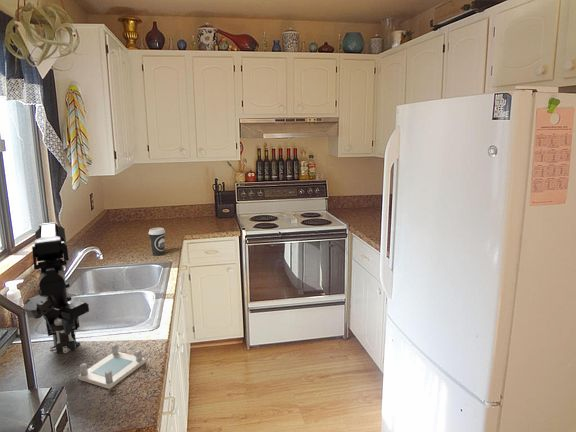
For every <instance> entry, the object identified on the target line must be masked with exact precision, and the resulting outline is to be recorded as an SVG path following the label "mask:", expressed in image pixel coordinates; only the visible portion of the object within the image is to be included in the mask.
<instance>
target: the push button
mask: <svg viewBox="0 0 576 432" xmlns="http://www.w3.org/2000/svg"><path fill="white" fill-rule="evenodd" d="M51 326H52V327H53V330H54V331H56V334H57V339H58V341H57V345H56V348H52V349H50V348H49V350H50V353H52V354H53V353H57V354H59V355H60V354H66V353H68V352H69V353H70V352H75V351H76V348H77V346H76V344H75V340H73V338H72V337H71V332H70V334H69V335H67V336H66V335H65V332H64V328H63V324H62V320H60V319H58V318H57V319H55V320H54V322H53V323H52V324H51ZM59 332H60V333H59ZM55 349H56V351H52V350H55Z"/></svg>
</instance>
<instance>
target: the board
mask: <svg viewBox="0 0 576 432" xmlns="http://www.w3.org/2000/svg"><path fill="white" fill-rule="evenodd" d="M134 353H135V355H133V354H132V355H131V354H130V353H124V352H120V351H119V345H118V343H113V344H111V353H110V354H108V355H107V356H106V357H104V358H103V359H101V360H99V361H98V362H97V363H95V364H92V366H90V367H89V368H88V364H87V363H86V362H83V363H80V365H79V370H80V374H78V375H77V379H78V380H80V381H83V382H86V383H89V384H93V385H95V386H99V387H102V388H105V389H107V390H111V389H112V388H113V387H115V386H116V385H117V384H118V383H120V382H122V381H123V380H124V379H126V378H127V377H128V376H129V375H131V374H132V373H133V372H134V371H136V370H137V369H138V368H140V367H141V366H142V365H144V364H145V363H146V358H144V357H143V354H142V353H143V352H142V349H136V350H135V352H134Z"/></svg>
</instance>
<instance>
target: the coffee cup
mask: <svg viewBox="0 0 576 432" xmlns="http://www.w3.org/2000/svg"><path fill="white" fill-rule="evenodd" d="M147 234H148V235H149V240H150V247H151V253H152V256H154V257H159V256H160V257H162V256H163V255H165V250H166V248H165V246H166V245H165V244H166V243H165V242H166V241H165V239H166V236H165V235H166V229H165V228H164V227H152V228H149V231H148V233H147Z"/></svg>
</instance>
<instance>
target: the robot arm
mask: <svg viewBox="0 0 576 432" xmlns="http://www.w3.org/2000/svg"><path fill="white" fill-rule="evenodd" d="M34 234H35V236H34V237H35V241H34V244H32V246H31V250H32V251H31V252H32V260H33V269H34V270H39V274H40V276H39V284H38V287H39V288H38V290H37V293H38V295H35V296H33V297H30V298H27V300H26V302H25V304H24V305H23V306H22V307H23V308H24V309H25V310H26V312H27V315H28V316H27V315H26V316H27V318H32V319H35V320H38V319H40V318H41V317H43V319H44V320H45V325H46V330H47V336H48V337H51V336H52V340H53V346H51V347H50V348H49V350H50V349H52V348H56V345H57V341H58V339H57V334H56V331H54V330H53V327H52V326H51V324H52V323H53V322H54V320H55V319H57V318H58V319H60V320H62V324H63V328H64V332H65V335H66V336H67V335H69V334H70V332H71V337H72V338H73V340H75V344H76V347H78V346H79V345H81V342H80V341H77V338H76V334H75V331H77V330H78V328H80V319H79V317H81V316H83V315H85V314H87V313H88V312H90V306H89V305H90V304H89V303H87V302H85V301H81V300H75V301H73V302H71V301H72V297H71V296H68V290H67V289H68V288H70V286H71V284H70V283H68V282H66V274H65V268H64V266H67V264H68V262H67V261H70V260H69V252H68V251H69V250H68V245H67V238H66V237H67V236H66V230H65V228H63V227H61V226H59V224H58V222H55V221H53V222H44V223H41V224H40V223H39V228H38V229H37V230H36V231H35V232H34ZM69 302H71V303H69ZM59 333H60V332H59ZM52 351H56V349H55V350H51V352H52Z"/></svg>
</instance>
